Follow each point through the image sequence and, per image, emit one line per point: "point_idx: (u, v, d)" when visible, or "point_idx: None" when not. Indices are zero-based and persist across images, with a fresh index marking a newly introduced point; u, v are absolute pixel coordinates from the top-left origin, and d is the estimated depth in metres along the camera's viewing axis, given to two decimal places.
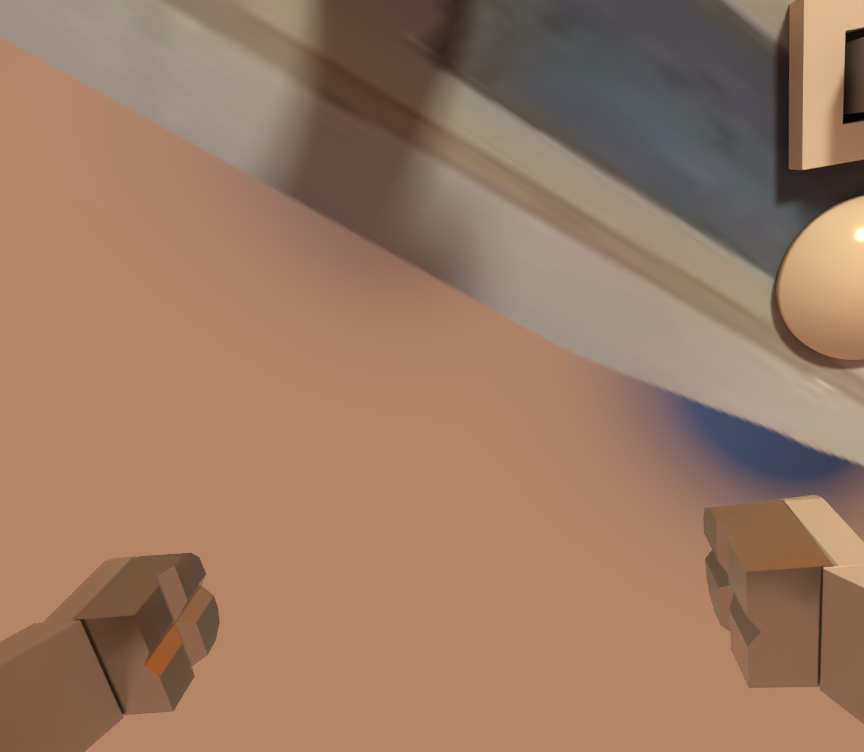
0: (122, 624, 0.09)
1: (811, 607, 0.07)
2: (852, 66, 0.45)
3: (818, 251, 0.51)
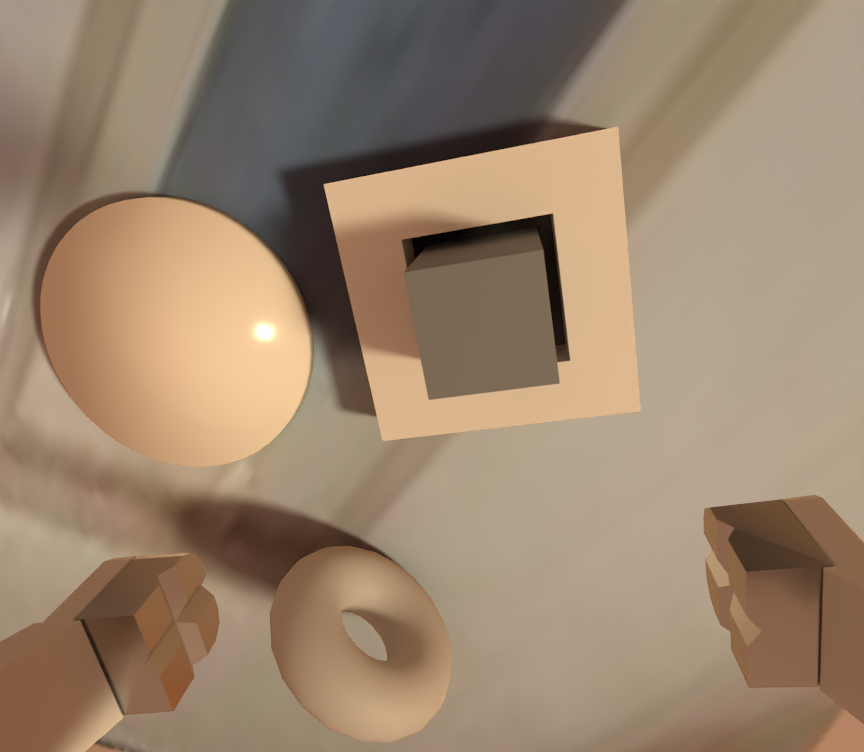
0: (122, 624, 0.09)
1: (811, 607, 0.07)
2: (496, 239, 0.26)
3: (204, 251, 0.29)
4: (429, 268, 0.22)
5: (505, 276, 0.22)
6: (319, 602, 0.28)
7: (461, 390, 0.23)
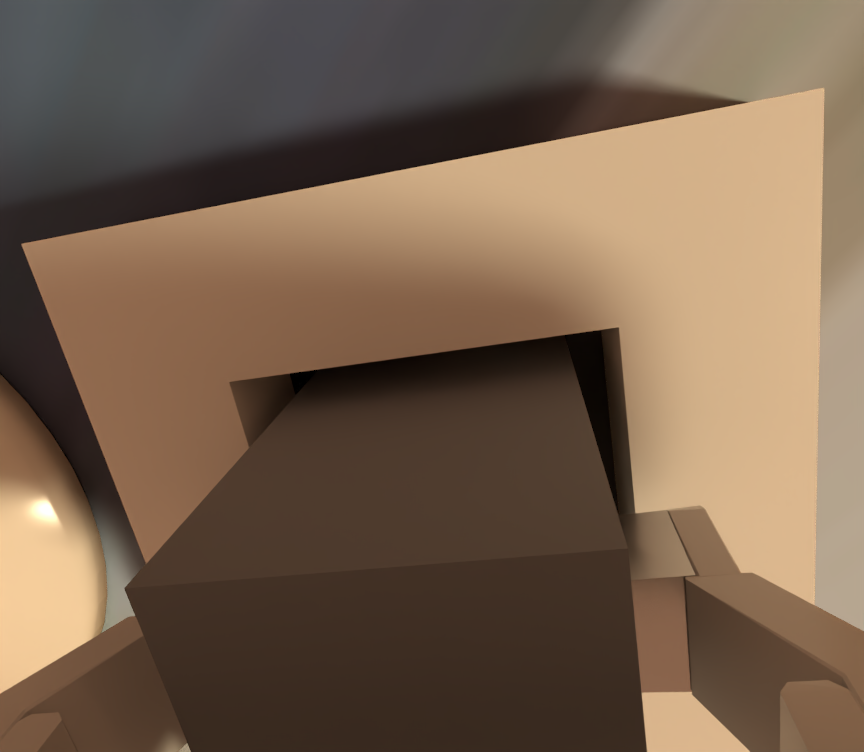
0: None
1: (677, 615, 0.07)
2: (467, 385, 0.10)
3: None
4: (212, 579, 0.06)
5: (481, 623, 0.06)
6: None
7: None
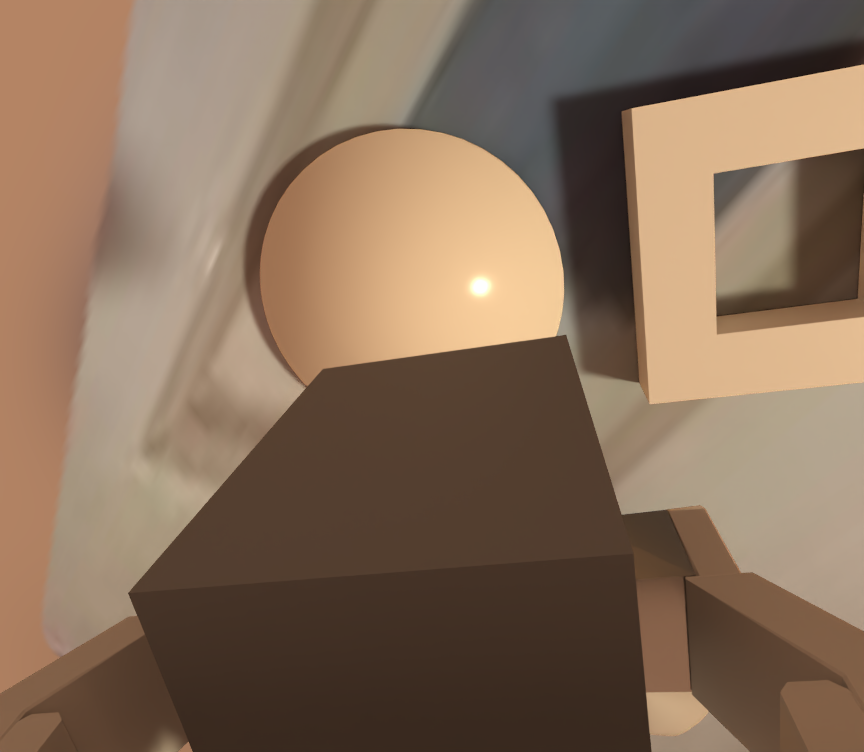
0: None
1: (677, 615, 0.07)
2: (469, 387, 0.10)
3: (460, 191, 0.26)
4: (216, 584, 0.06)
5: (485, 628, 0.06)
6: None
7: None
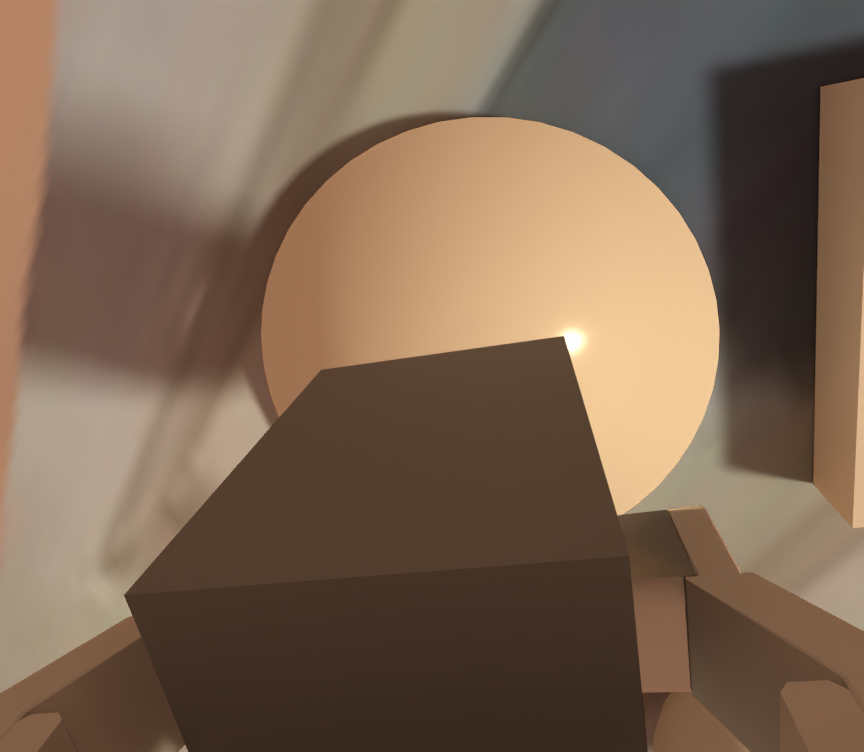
0: None
1: (677, 615, 0.07)
2: (467, 388, 0.10)
3: (567, 211, 0.17)
4: (212, 585, 0.06)
5: (482, 630, 0.06)
6: None
7: None
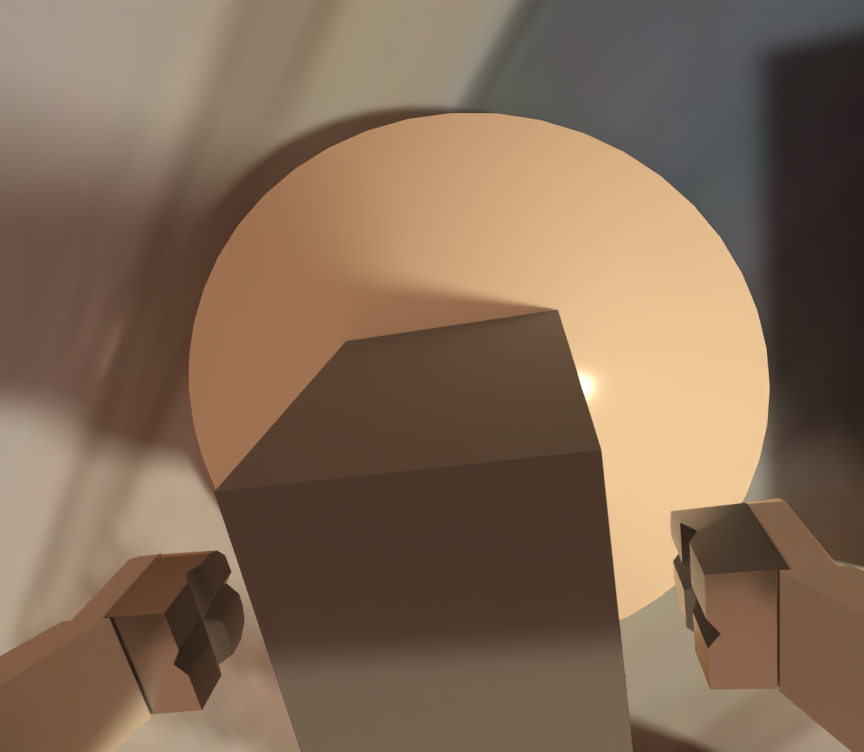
0: (152, 621, 0.09)
1: (769, 610, 0.07)
2: (475, 350, 0.12)
3: (574, 235, 0.13)
4: (283, 483, 0.08)
5: (490, 514, 0.08)
6: None
7: None
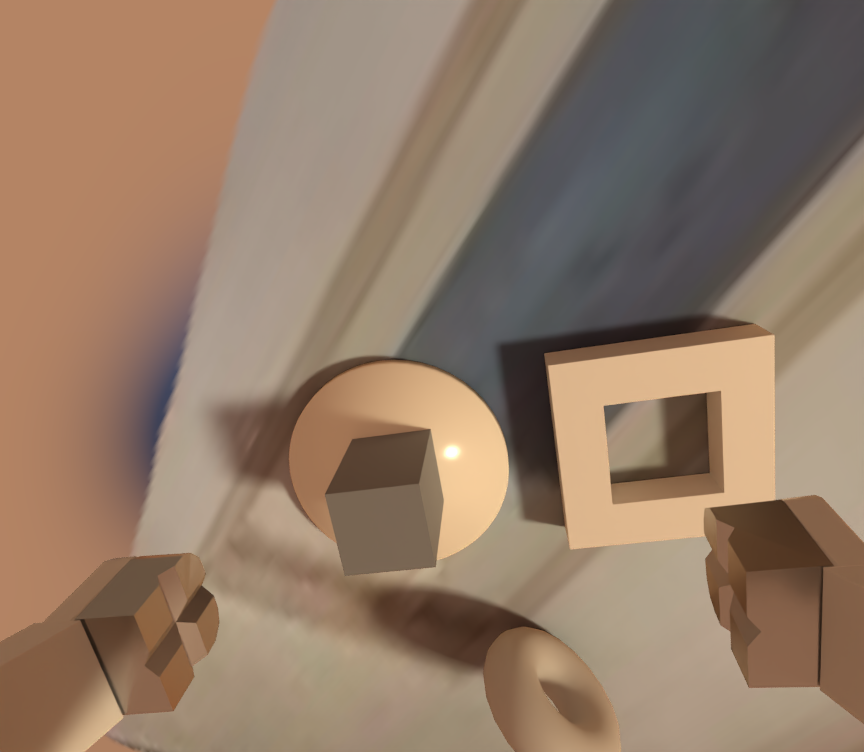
0: (122, 624, 0.09)
1: (811, 607, 0.07)
2: (397, 448, 0.36)
3: (434, 404, 0.37)
4: (342, 492, 0.32)
5: (394, 499, 0.32)
6: (529, 679, 0.36)
7: (367, 570, 0.33)
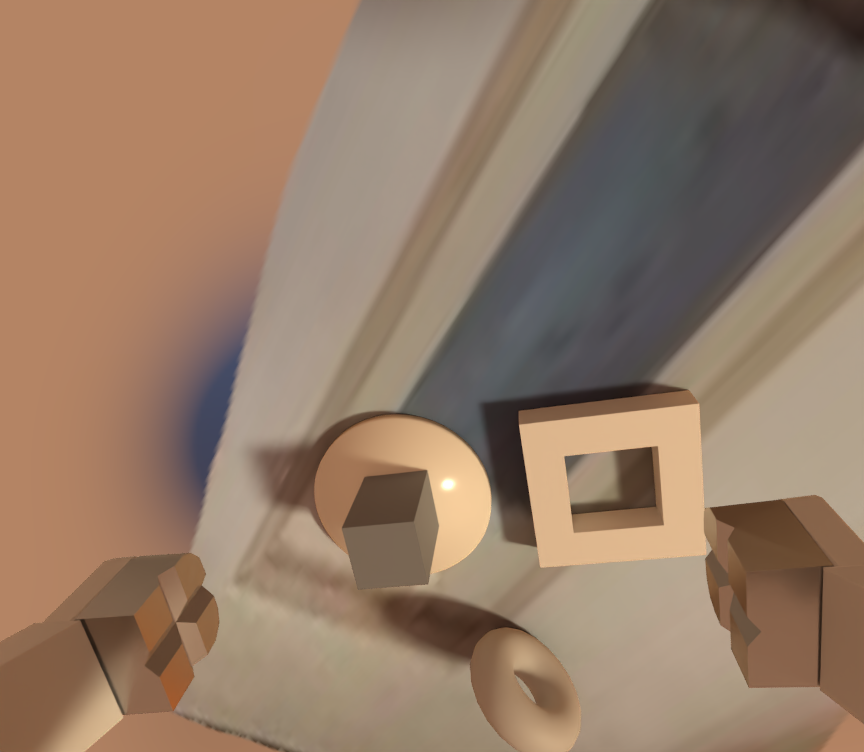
0: (122, 624, 0.09)
1: (811, 607, 0.07)
2: (400, 487, 0.45)
3: (430, 450, 0.46)
4: (355, 526, 0.41)
5: (395, 532, 0.41)
6: (505, 671, 0.46)
7: (375, 585, 0.42)
